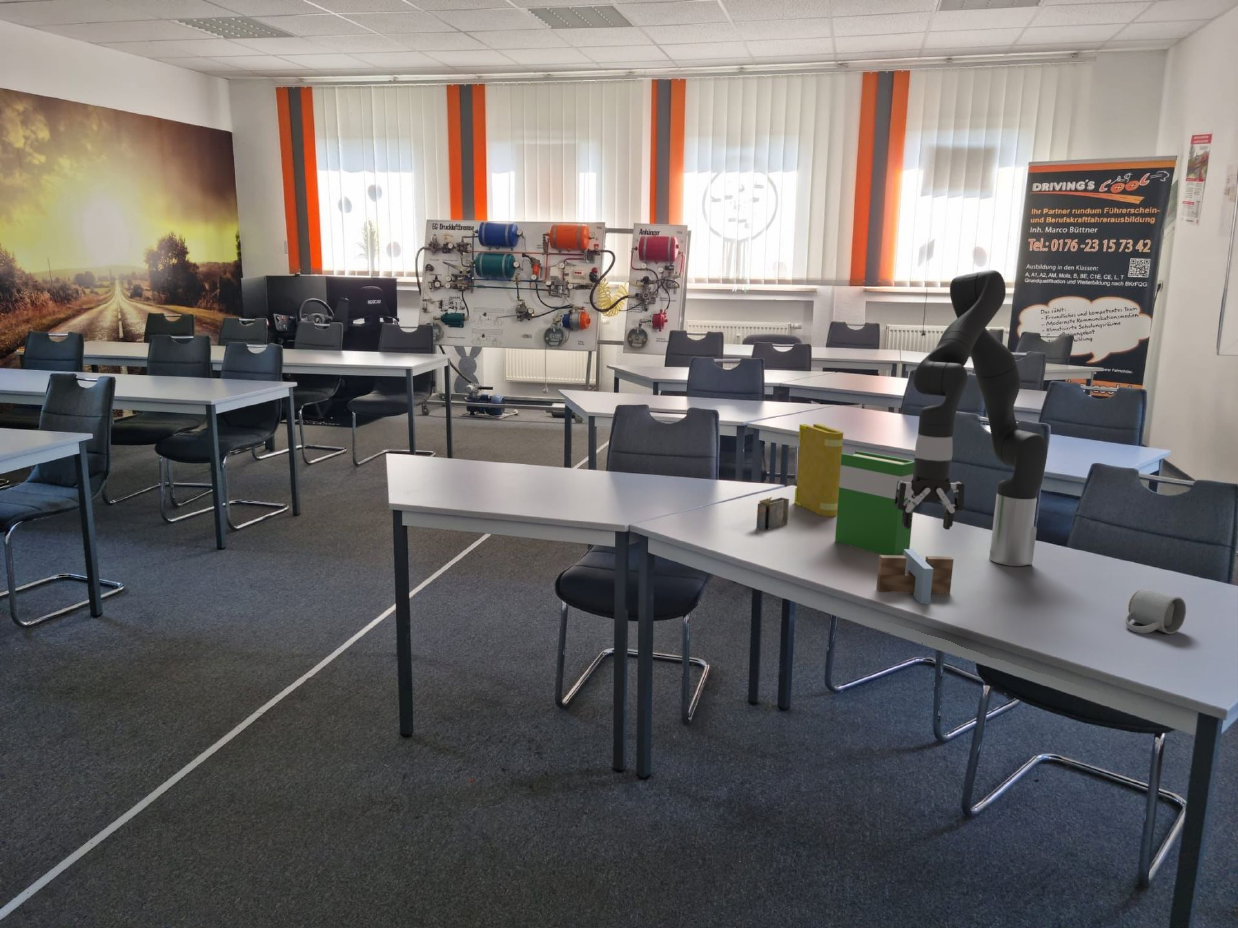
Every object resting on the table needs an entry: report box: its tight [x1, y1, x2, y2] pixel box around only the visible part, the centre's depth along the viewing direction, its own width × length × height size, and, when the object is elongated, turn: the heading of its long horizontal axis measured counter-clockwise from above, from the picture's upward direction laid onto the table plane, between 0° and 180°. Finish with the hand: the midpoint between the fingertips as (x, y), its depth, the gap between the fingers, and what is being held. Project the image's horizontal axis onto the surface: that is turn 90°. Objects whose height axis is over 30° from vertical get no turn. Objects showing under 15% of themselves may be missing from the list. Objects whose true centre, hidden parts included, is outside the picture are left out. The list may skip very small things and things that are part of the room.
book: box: [794, 423, 844, 517], centre depth 267 cm, size 17×7×25 cm, turn 17°
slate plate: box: [902, 548, 933, 605], centre depth 197 cm, size 14×2×8 cm, turn 0°
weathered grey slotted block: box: [756, 496, 790, 531], centre depth 249 cm, size 11×3×10 cm, turn 135°
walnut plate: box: [876, 554, 954, 594], centre depth 198 cm, size 16×2×8 cm, turn 90°
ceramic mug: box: [1125, 589, 1187, 635], centre depth 180 cm, size 11×8×8 cm
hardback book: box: [834, 450, 914, 556], centre depth 230 cm, size 18×7×24 cm, turn 43°
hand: (926, 528), depth 192 cm, fingers open, 8 cm apart
